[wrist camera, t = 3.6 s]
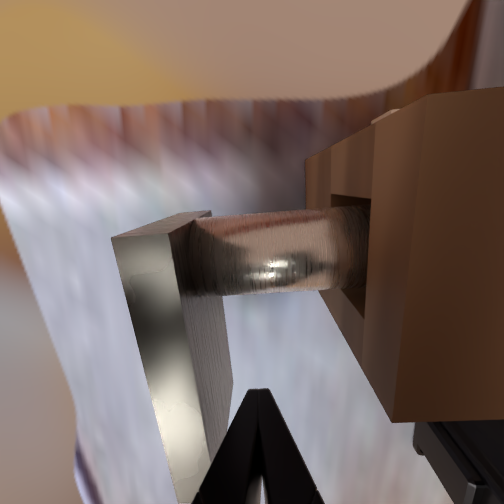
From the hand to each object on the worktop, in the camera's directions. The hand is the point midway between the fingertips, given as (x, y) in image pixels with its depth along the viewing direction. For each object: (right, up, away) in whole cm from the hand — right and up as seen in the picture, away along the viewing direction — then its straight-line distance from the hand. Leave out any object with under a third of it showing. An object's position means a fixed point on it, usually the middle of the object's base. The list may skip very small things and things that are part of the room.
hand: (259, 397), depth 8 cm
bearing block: (+4, +7, +4) cm, 9 cm away
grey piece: (+2, +3, +1) cm, 4 cm away
